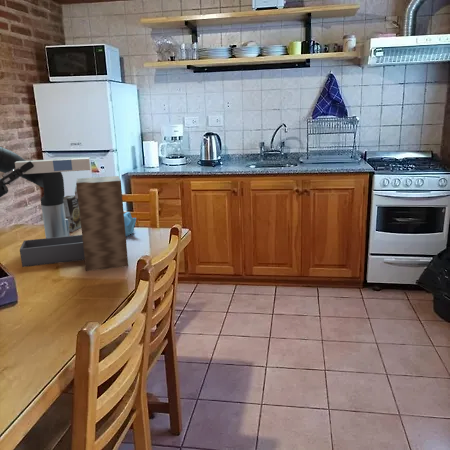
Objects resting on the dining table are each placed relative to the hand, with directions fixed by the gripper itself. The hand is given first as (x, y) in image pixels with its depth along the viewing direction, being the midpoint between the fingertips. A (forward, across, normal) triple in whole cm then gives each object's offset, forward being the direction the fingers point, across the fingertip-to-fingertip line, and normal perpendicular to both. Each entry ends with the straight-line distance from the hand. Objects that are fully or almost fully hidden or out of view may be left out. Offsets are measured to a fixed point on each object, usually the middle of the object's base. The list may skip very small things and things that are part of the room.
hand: (32, 162), depth 150 cm
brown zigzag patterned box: (-1, 0, +44) cm, 45 cm away
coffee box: (-14, +57, +38) cm, 70 cm away
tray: (-14, +13, +37) cm, 42 cm away
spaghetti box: (+4, 0, +6) cm, 7 cm away
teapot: (+5, +39, +48) cm, 62 cm away
